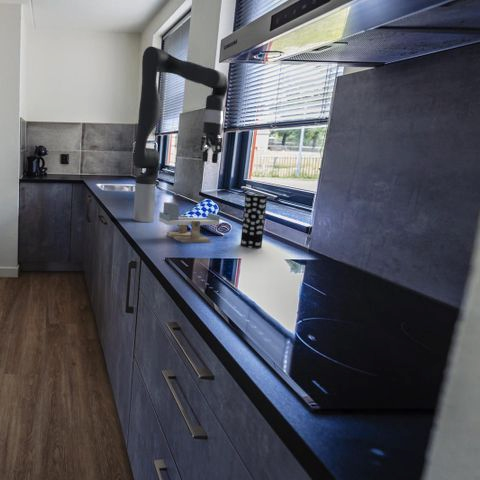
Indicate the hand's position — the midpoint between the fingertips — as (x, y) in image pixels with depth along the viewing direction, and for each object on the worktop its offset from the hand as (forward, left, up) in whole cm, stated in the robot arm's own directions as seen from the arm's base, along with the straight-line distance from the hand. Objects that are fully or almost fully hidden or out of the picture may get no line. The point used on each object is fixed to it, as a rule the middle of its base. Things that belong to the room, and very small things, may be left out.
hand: (209, 162), depth 179 cm
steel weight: (+10, -20, -22) cm, 31 cm away
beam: (+10, -12, -23) cm, 28 cm away
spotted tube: (+25, +8, -30) cm, 40 cm away
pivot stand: (+10, -12, -30) cm, 34 cm away
